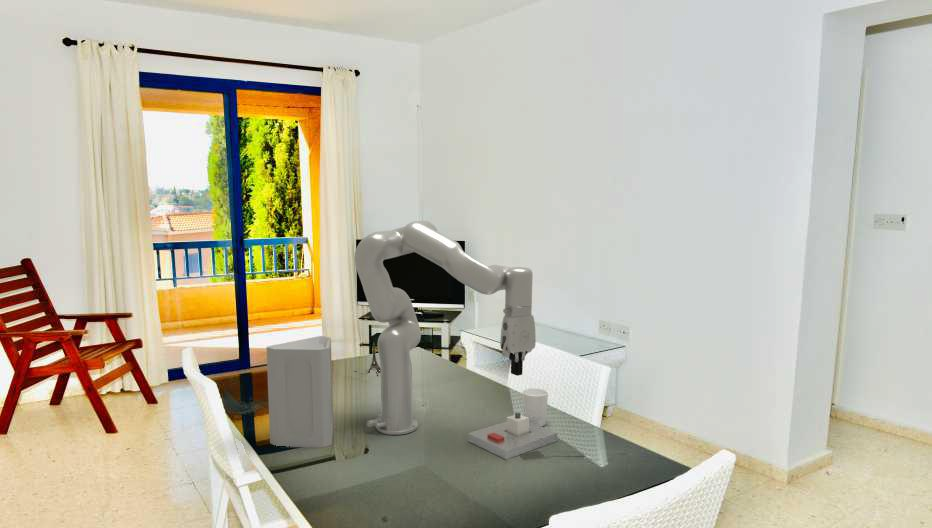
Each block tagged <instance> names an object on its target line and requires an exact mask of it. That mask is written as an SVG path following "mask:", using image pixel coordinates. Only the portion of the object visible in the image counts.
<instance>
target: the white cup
mask: <svg viewBox="0 0 932 528" xmlns="http://www.w3.org/2000/svg"><path fill="white" fill-rule="evenodd" d="M521 393H522V397H521V398H522V413H523V416H525V417H528V418H529V422H531V423H534V424H536V425H539V426H541V427H544V426H546V423H547V413H548V399H549V398H548V397H549V391H547V390H546V389H543V388H537V387H536V388H535V387H533V388H531V387H530V388H526V389H523V390H522V392H521Z"/></svg>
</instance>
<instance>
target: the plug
mask: <svg viewBox="0 0 932 528" xmlns="http://www.w3.org/2000/svg"><path fill="white" fill-rule="evenodd" d="M506 421H507V433H509V434H512V435H514V436H516V437H519V436H522V435H525V434H528V433H529V418H528V417H525V416H524V414H523V415H522V414H521V412H515V414H513V415H509V416H507V417H506Z"/></svg>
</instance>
